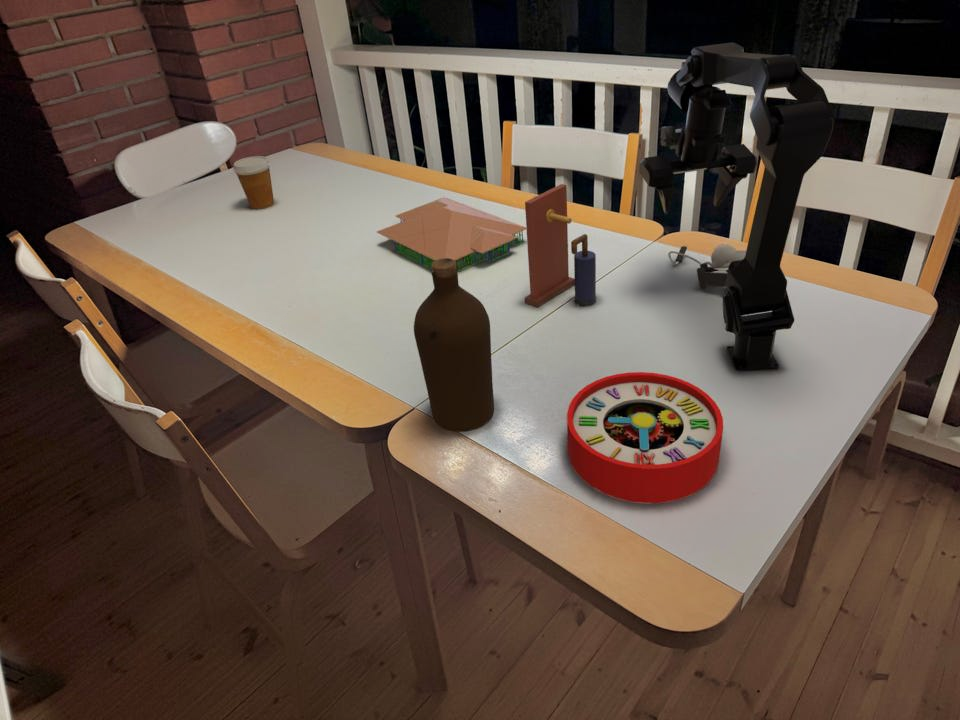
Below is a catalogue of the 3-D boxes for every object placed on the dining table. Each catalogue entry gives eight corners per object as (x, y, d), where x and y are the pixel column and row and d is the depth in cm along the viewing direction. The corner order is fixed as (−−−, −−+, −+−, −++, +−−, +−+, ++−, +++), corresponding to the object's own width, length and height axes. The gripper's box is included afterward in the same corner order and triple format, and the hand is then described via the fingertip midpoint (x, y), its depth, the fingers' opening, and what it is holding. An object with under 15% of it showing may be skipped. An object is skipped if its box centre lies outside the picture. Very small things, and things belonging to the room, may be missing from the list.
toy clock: (714, 373, 97) (733, 472, 81) (710, 405, 101) (728, 507, 84) (570, 370, 101) (562, 465, 85) (571, 402, 104) (563, 499, 88)
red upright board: (590, 289, 133) (589, 188, 122) (552, 313, 126) (548, 209, 115) (562, 279, 137) (559, 181, 126) (524, 302, 131) (518, 201, 120)
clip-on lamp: (656, 284, 138) (733, 296, 123) (650, 255, 135) (728, 264, 121) (694, 259, 143) (773, 268, 128) (689, 230, 140) (769, 236, 125)
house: (454, 283, 140) (449, 246, 135) (368, 239, 162) (362, 206, 158) (537, 245, 151) (535, 209, 147) (446, 209, 173) (442, 177, 169)
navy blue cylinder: (583, 293, 132) (582, 227, 124) (600, 299, 129) (600, 232, 122) (565, 305, 128) (563, 238, 121) (582, 311, 126) (581, 244, 119)
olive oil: (502, 430, 100) (487, 276, 87) (429, 440, 100) (403, 286, 86) (494, 387, 109) (479, 241, 95) (427, 396, 109) (402, 251, 95)
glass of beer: (237, 211, 186) (224, 167, 180) (257, 197, 194) (245, 155, 187) (268, 212, 183) (256, 167, 177) (286, 198, 191) (275, 155, 184)
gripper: (738, 98, 119) (722, 180, 130) (633, 112, 118) (626, 193, 129) (767, 125, 111) (748, 210, 122) (654, 141, 110) (645, 225, 121)
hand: (690, 208), depth 124 cm, fingers open, 9 cm apart
